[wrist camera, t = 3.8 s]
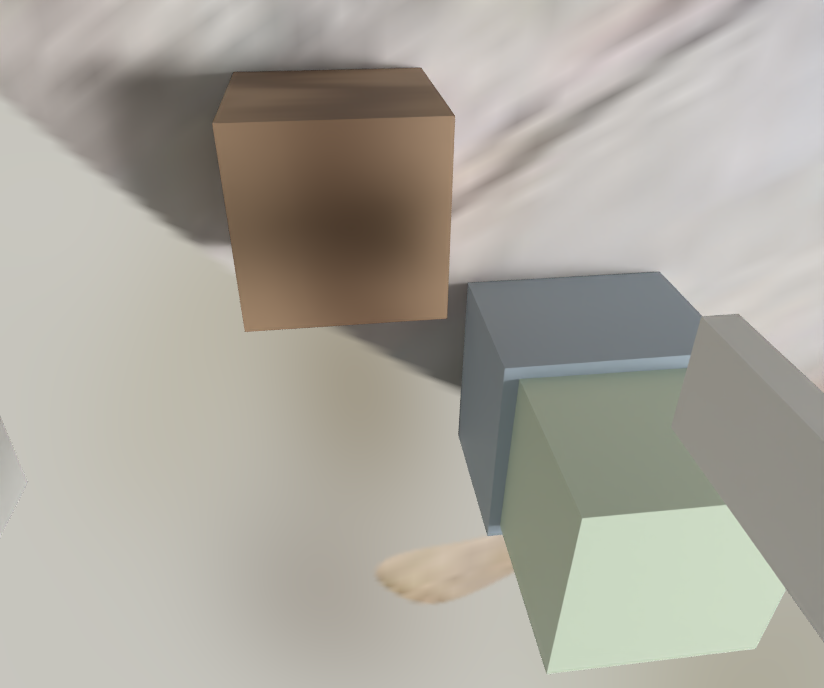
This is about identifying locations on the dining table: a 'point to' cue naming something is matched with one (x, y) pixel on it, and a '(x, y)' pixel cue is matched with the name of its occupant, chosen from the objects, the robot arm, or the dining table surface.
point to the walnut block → (337, 195)
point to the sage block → (624, 529)
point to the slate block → (556, 352)
